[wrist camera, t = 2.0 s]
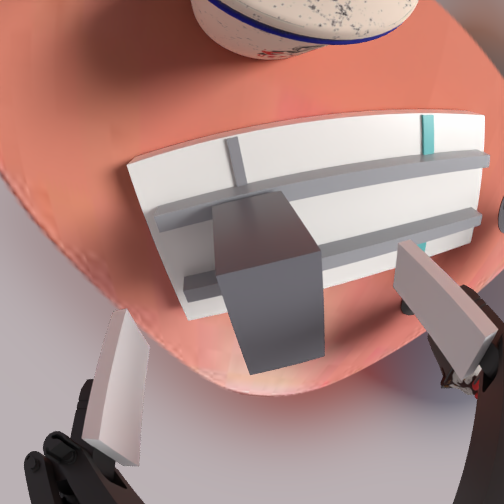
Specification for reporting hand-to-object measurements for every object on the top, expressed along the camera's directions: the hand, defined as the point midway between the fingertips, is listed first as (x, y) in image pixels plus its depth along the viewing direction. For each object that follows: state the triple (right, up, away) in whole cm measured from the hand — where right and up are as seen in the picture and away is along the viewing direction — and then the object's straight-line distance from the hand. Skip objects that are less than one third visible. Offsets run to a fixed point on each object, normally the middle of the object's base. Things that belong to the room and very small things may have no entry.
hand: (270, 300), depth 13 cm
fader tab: (-1, +3, +5) cm, 6 cm away
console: (+6, +6, +7) cm, 11 cm away
